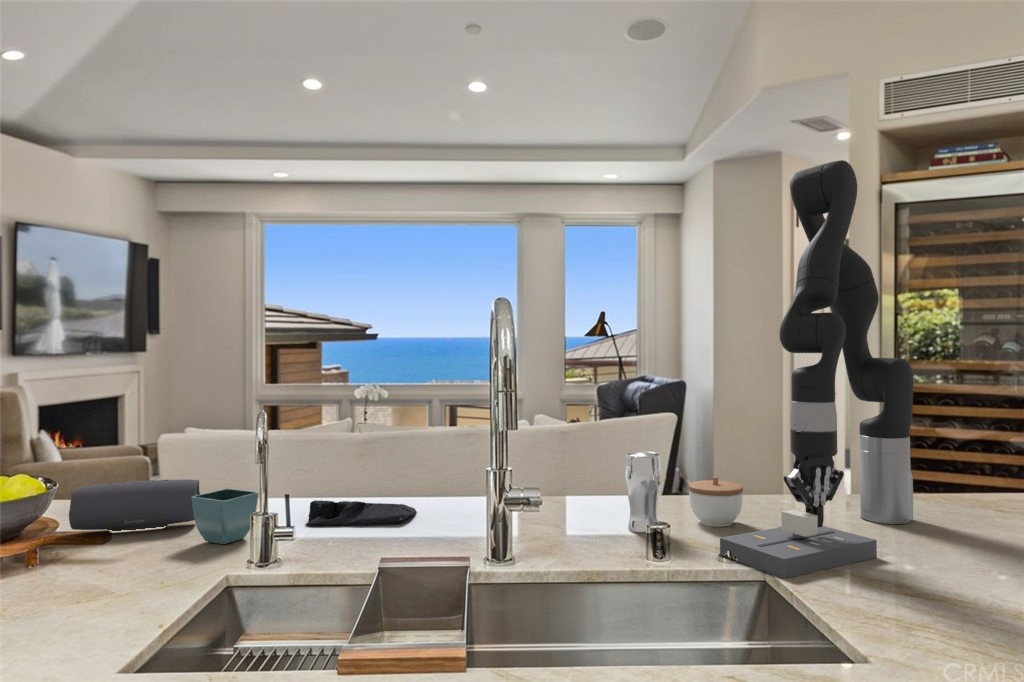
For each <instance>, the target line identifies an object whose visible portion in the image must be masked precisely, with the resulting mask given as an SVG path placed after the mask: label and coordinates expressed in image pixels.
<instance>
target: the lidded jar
mask: <svg viewBox="0 0 1024 682" xmlns="http://www.w3.org/2000/svg"><path fill="white" fill-rule="evenodd" d="M688 490H689V491H688V496H689V497H688V498H689V503H690V508H691V510H692V513H693V514H694V516H695V517H696V518H697V519H698V520H699V522H700V524H702V525H705V526H708V527H713V528H714V527H715V528H716V527H718V528H720V527H721V528H723V527H729V526H731V525H732V523H733V522H734V521H735V520H736V519H738V517H739V515H740V513H741V511H742V506H743V492H744V487H743V485H742V484H740V483H738V482H734V481H727V480H719V477H718V476H713V477H712V479H709V480H705V479H704V480H697V481H692V482H690V483H688Z"/></svg>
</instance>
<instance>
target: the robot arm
mask: <svg viewBox="0 0 1024 682" xmlns="http://www.w3.org/2000/svg"><path fill="white" fill-rule="evenodd" d="M789 189H790V190H789V191H790V197H791V200H792V202H793V206H794V209H795V212H796V214H797V217H798V219H799V222H800V224H801V226H802V228H803V231H804V233H805V235H806V238H807V240H808V245H807V246H806V247H805V250H803V253H802V255H801V257H800V259H799V262H798V265H797V266H798V267H797V273H796V274H797V275H796V282H795V291H794V293H793V297H792V300H791V302H790V304H789V306H788V308H787V311H786V312H785V315H784V316H783V319H782V321H781V324H780V328H779V340H780V344H781V346H782V347H783V349H784V350H786V351H787V352H789V353H792V354H821V358H820V360H819V361H818V362H817V363H815V364H811V365H807V366H802V367H797V368H795V369H793V371H792V372H791V381H790V382H791V384H790V385H791V405H790V406H791V407H790V413H789V414H790V416H789V418H790V452H791V453H792V455H794V461H793V465H792V466H793V471H792V472H791V473H790V474H785V475H784V476H783V481H784V483H785V484H786V486H787V488H788V490H789V492H790V493H791V494H792V496H793V498H794V499H795V501H796V502H798V503H802V504H804V505H805V512H806V513H810V514H814V515H817V518H818V527H822V526H824V520H825V519H824V518H825V517H824V516H825V515H824V506H825V505H826V504H827V502H828V501H829V502H831V501H833V499H834V496H835V495H836V493H837V490H838V488H839V486H840V484H841V483H842V481H843V478H844V476H845V472H844V471H843V470H839V469H837V467H836V466H835V460H834V459H833V457H835V456H836V455H837V454H838V413H837V406H836V375H837V374H836V373H837V368H838V362H839V359H840V355H841V352H842V353H843V354H842V355H843V359H844V364H845V369H846V374H847V378H848V382H849V386H850V388H851V391H852V393H853V395H854V396H855V397H856V398H857V399H858V400H861V401H863V402H870V403H871V402H872V403H883V409H882V411H881V412H880V413H879V414H877V415H875V416H874V417H870V418H867V419H863V420H861V421H860V422H859V483H860V484H859V485H860V486H859V487H860V488H859V491H860V492H859V493H860V498H859V499H860V501H859V502H860V517H861V518H862V519H863V520H866V521H870V522H872V523H877V524H878V523H879V524H887V525H902V524H903V525H904V524H909V523H911V522H912V520H914V478H913V473H912V471H911V426H912V422H913V403H914V402H913V401H914V373H913V369H912V367H911V364H910V363H909V361H907V360H906V359H904V358H902V357H899V358H898V357H873V356H872V354H871V351H870V349H869V343H868V335H869V334H868V333H869V330H870V326H871V324H872V322H873V320H874V318H875V315H876V313H877V309H878V305H879V300H880V299H879V297H880V296H879V291H878V287H877V284H876V281H875V278H874V274H873V271H872V268H871V267H870V265H869V264H868V262H867V261H866V260H865V259H864V258H863V257H862V256H861V255H859V254H858V253H857V252H856V251H855V250H854V249H852V248H851V247H850V246H849V245H847V244H846V240H847V235H848V233H849V228H850V226H851V222H852V217H853V214H854V210H855V206H856V203H857V198H858V197H857V196H858V181H857V176H856V173H855V170H854V168H853V166H852V165H851V164H850V163H849V162H848V161H846V160H843V159H841V160H840V159H839V160H835V161H829V162H827V163H824V164H819V165H816V166H813V167H809V168H806V169H802V170H799V171H796V172H795V173H793V174H792V176H791V178H790V180H789ZM825 214H827V215H826V218H825V216H824V215H825ZM827 308H829V309H830V312H817V311H820V310H823V309H827Z"/></svg>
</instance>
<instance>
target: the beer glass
mask: <svg viewBox="0 0 1024 682" xmlns="http://www.w3.org/2000/svg"><path fill="white" fill-rule="evenodd" d="M624 475H625V485H626V492H627V498H628V503H629V504H628V505H629V521H628V528H627V529H628V531H630V532H631V533H635V534H645V533H646V527H647V524H649V523H651V522H658V523H659V518H658V517H659V516H658V506H659V499H660V493H661V487H662V465H661V455H660V453H658V452H655V451H629V452H627V453H626V456H625V474H624ZM645 535H646V534H645Z"/></svg>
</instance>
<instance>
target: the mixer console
mask: <svg viewBox="0 0 1024 682" xmlns="http://www.w3.org/2000/svg"><path fill="white" fill-rule="evenodd" d="M877 543H878V542H877V539H874V538H870V537H867V536H864V535H860V534H855V533H851V532H848V531H843V530H840V529H836V528H834V527H833V528H832V527H830V526H825V525H823V526H822V527H818V534H817V535H811V536H806V537H803V538H795V537H793V533H791V532H787V531H784V530H782V526H779V527H773V528H767V529H762V530H756V531H751V532H745V533H741V534H739V533H738V534H735V535H728V536H723V537H719V555H720V554H725V553H727V551H731V552H732V553H734V555H735V556H736V558H737V559H738V561H739V562H738V561H737V562H738V563H740V562H741V563H740V564H743V565H747V566H749V567H752V568H754V569H758V570H760V571H763V572H766V573H768V574H771V575H773V576H777V577H779V578H783V579H786V578H787V579H788V578H791V577H797V576H801V575H806V574H810V573H814V572H817V571H823V570H829V569H832V568H837V567H840V566H845V565H850V564H854V563H857V562H858V563H859V562H862V561H867V560H872V559H876V558H877V557H878V555H877V554H878V553H877V552H878V551H877V550H878V549H877V545H878V544H877Z"/></svg>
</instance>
